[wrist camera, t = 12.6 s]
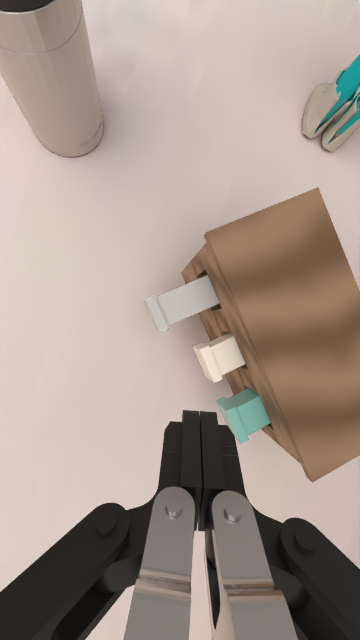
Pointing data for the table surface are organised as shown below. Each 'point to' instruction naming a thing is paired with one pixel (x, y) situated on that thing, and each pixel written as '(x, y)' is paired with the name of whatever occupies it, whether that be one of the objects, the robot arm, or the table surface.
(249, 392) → the teal key
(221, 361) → the ivory key
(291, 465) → the table surface
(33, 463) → the table surface
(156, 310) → the grey key
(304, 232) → the console
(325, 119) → the toy
